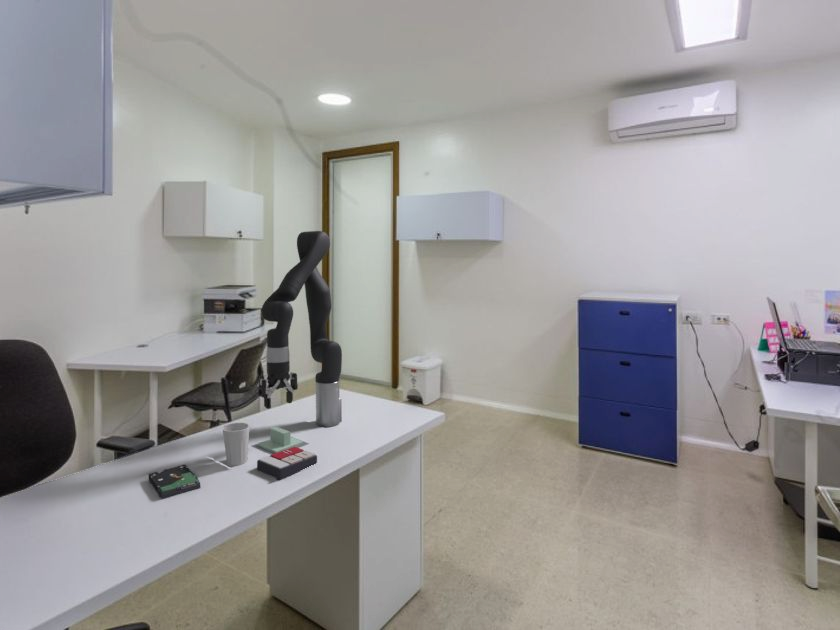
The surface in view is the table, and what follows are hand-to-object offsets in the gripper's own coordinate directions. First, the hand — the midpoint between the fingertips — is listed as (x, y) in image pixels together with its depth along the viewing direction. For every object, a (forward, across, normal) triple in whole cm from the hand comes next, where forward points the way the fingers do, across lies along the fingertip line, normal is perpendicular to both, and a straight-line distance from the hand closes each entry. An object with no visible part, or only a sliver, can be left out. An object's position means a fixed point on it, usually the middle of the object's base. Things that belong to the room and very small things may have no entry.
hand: (278, 405), depth 166 cm
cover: (+14, 0, 0) cm, 14 cm away
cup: (+15, +17, +1) cm, 22 cm away
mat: (+15, 0, 0) cm, 15 cm away
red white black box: (+15, +8, +16) cm, 24 cm away
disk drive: (+16, +36, 0) cm, 39 cm away
